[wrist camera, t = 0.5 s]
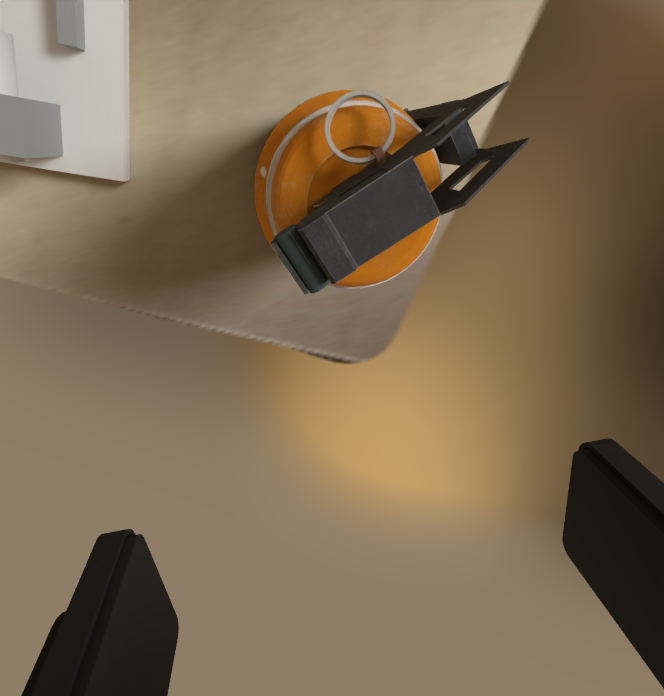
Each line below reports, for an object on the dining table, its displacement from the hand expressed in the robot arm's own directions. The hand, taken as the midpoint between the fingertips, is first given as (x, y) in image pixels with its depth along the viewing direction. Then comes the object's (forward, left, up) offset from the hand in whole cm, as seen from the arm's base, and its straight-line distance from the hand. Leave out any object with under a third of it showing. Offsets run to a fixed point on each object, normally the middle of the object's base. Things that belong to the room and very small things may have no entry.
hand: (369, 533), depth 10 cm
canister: (-6, +2, -29) cm, 29 cm away
